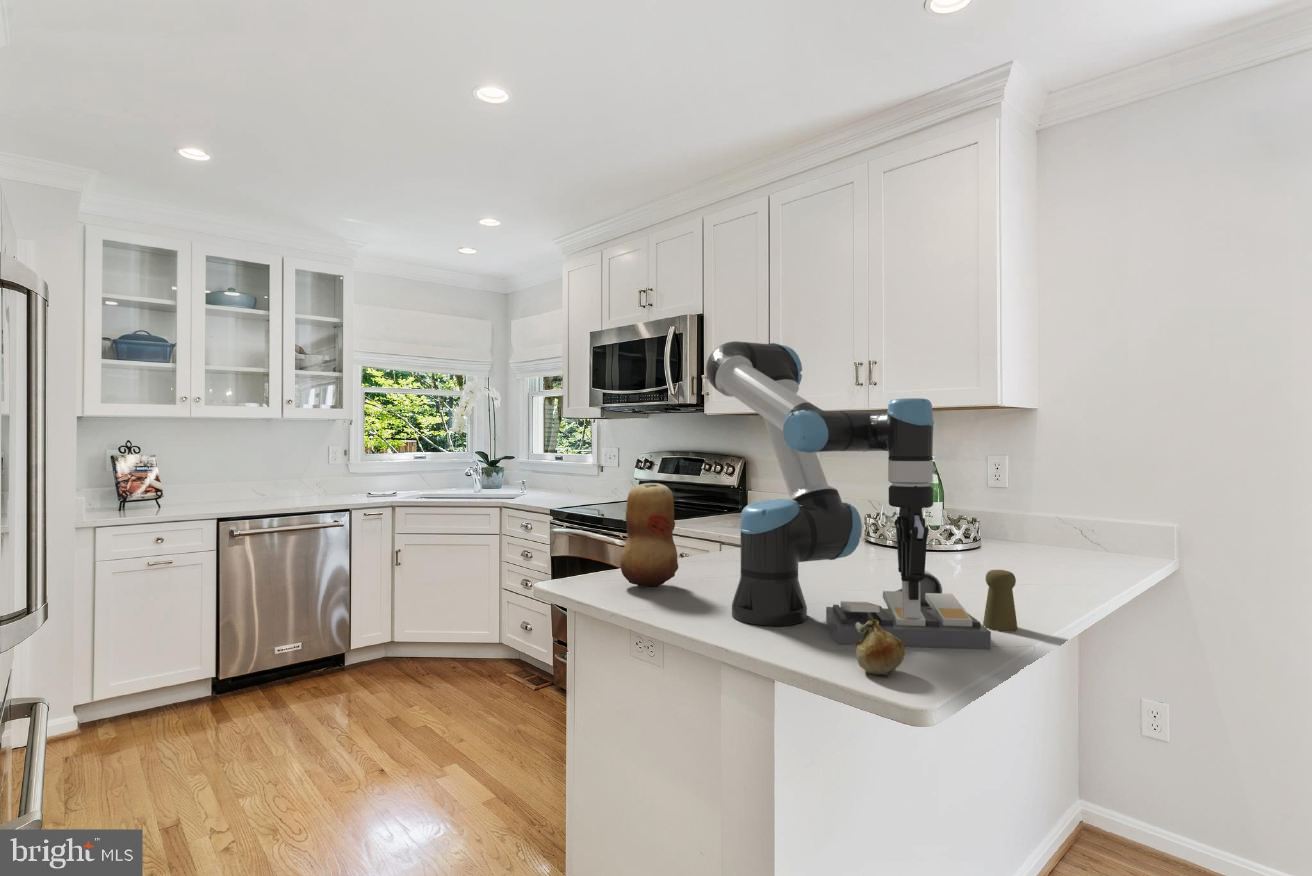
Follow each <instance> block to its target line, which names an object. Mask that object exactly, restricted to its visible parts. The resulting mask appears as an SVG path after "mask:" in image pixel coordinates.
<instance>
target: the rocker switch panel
mask: <svg viewBox="0 0 1312 876" xmlns="http://www.w3.org/2000/svg"><path fill="white" fill-rule="evenodd" d="M920 608H921V613H922V614H923V616H924V618H925V619H926V623H925V626H906V625H896V623H895V621H894V619H893V617H892V615H891V613H890V611H889V609H888V608H883V607H882V606H881V605H879V610H880V612H851V611H848V610H846V609H843V608H841V606H840V605H839V604H832V606H826V609H825V613H826V614H825V622H826V625H827V626H828V628H829V630H830V631H831V633H833V634H832V636H833V635H834V636H833V637H835V638H834V639H835V641H836V643H837V644H838V645H853V644H856V645H855V646H857V642H858V640H861V638H863V637H864V634H861V633H859V632H858V631H857V628H856V626H855V625H856V623H857V622H859V623H860V624H862V625H865V624H866V623H867V622H868V621H869V620H870V621H872V620H873V619H875V620H877V621H879V626H880V627H881V628H882V629H883V630H884V631H887V632H889V633H891V634H892V635H893V636H895V637H897V638H899V640H900V641H902V643H903V645H904V647H919V648H920V647H921V648H945V649H946V648H949V649H950V648H951V649H952V648H953V649H978V650H979V649H982V650H983V649H984V650H985V649H986V650H991V649H992V648H991V646H992V645H991V641H992V639H991V638H992V637H991V633H992V632H991V630H990V629H987V628H985V627H984V626H983V624H981V621H979V620H977V619H976V618H975V617H974V616H972V615H971V614H969V613H968V615H969V616H970V617H971V619H972V620H973V623H972V626H943V625H942V624H941V622H940V621H939V619H938V618H937V616H936V615H935V613H934V612H933V610H932V609H925V608H924V607H920Z"/></svg>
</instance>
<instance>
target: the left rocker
mask: <svg viewBox="0 0 1312 876" xmlns="http://www.w3.org/2000/svg"><path fill="white" fill-rule="evenodd" d="M839 603H840V607H841V608H843V609H846V610H848V611H851V612H880V610H879V606H880V605H879V604H875V603H871V602H868V601H846V600H845V601H844V600H843V601H840V602H839Z"/></svg>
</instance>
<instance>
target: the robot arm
mask: <svg viewBox="0 0 1312 876" xmlns="http://www.w3.org/2000/svg"><path fill="white" fill-rule="evenodd" d="M705 371H706V372H705V373H706V377H707V379H708V382H709V383H710V384H711V386H712V387H713V388H714V389H715V390H717V391H718V392H719V393H720V394H722V395H723V396H725V397H734V398H735V399H736V400H738V401H739V402H741V403H742V404H744V405H745V406H747V407H748V408H750V410H753V411H754V413H756V414H758V415H759V416H761V417H762V418H763V421H764V424H765V427H766V429H767V433H768V436H769V439H770V441H771V445H772V447H773V450H774V453H775V455H776V459H777V462H778V465H779V468H780V471H781V474H782V477H783V480H784V483H785V486H786V489H787V492H788V494H789V498H786V499H785V498H778V499H766V500H760V501H755V502H752V503H749V504H747V505H745V507H743V509H742V511H741V514H740V524H739V531H740V577H739V582H738V584H737V588H736V591H735V592H734V596H733V600H732V602H731V616H732V617H733V618H734V619H735V620H738V621H740V622H743V623H747V624H752V625H757V626H758V625H759V626H768V627H770V626H771V627H774V626H775V627H780V626H781V627H782V626H783V627H784V626H793V625H797V624H801V623H803V622H805V621H807V619H808V607H807V603H806V599H805V597H804V595H803V594H804V593H803V590H802V588H801V587H802V586H801V584H800V582H799V563H806V562H816V561H826V560H827V561H828V560H829V561H834V560H837V559H840V558H846V557H848V556H850V555H852V554H853V553H854V552H855V551H856V549H857V547H859V544H860V541H861V540H860V539H861V538H862V533H863V525H862V523H863V522H862V518H861V515H860V513H859V511H858V509H857V508H856V506H853V505H852V504H851V503H849V502H848V503H847V502H843V501H842V499H841V496H840V494H839V491H838V489H837V488H836V487H833V486H830V485H829V484H828V481H827V479H826V476H825V475H826V474H825V473H824V471H823V467H822V465H821V463H820V459H819V457H818V453H820V452H821V453H823V452H824V453H825V452H888V453H887V454H888V460H887V467H888V468H887V470H888V471H887V476H888V477H887V479H888V480H887V481H888V482H889V483H891V485H889V487H888V504H889V506H890V507H892V508H893V507H894V508H899V513H898V515H897V517H896V519H895V520H894V525H895V531H896V533H895V534H896V548H897V549H896V551H897V564H898V566H897V567H898V568H897V569H898V570H897V571H898V573H900V577H901V589H902V615H903V616H904V617H905V618H921V608H920V581H921V580H924V578H925V571H926V559H927V558H926V557H927V542H928V536H929V531H930V529H929V527H928V526H926V519H925V517H924V515H923V509H924V508H926V509H927V508H932V507H933V505H934V488H933V486H930V484H932V483H933V482H934V480H933V479H934V475H933V472H935V471H936V470H937V467H936V466H935V465H933V464H934V463H933V462H934V461H933V460H934V459H933V458H934V457H933V456H934V455H933V449H934V447H933V446H934V445H933V443H934V442H933V441H934V440H933V439H934V434H933V433H934V425H935V422H934V421H935V420H934V415H933V405H932V402H931V401H930V400H929V399H928V398H922V397H921V398H919V397H918V398H917V397H914V398H913V397H906V398H895V399H894V398H893V399H890V400H889V402H888V404H887V405H888V406H887V410H886V411H835V410H833V411H832V410H831V411H829V410H823V409H822V408H820V407H818V406H817V405H814V404H813V403H812V402H810V401H808V400H806V399H805V398H803V397H802V396H800V395H798V392H799V389H800V388H799V387H800V384H801V381H802V378H803V374H802V373H801V372H803V365H802V361H801V359H800V356H799V354H798V353H797V352H796V351H795V350H794V349H793V348H791V347H790V346H787V345H784V344H779V343H775V342H770V343H761V342H750V341H749V342H748V341H747V342H746V341H737V340H736V341H735V340H734V341H728V342H725V343H723V344H720V345H719V346H718V347H716V348H715V349H714V350H713V351H712V352H711V353H710V355H709V356H708V359H707V361H706V365H705Z"/></svg>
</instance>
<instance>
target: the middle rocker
mask: <svg viewBox="0 0 1312 876" xmlns="http://www.w3.org/2000/svg"><path fill="white" fill-rule="evenodd" d="M882 599H883V601H884V603H885V605H886V607H887V609H889V611H890V613H891V615H892V617H893V619H894V621H895V623H896V625H906V626H925V623H926V619H925V618H924V616H923V614H922V613H921V618H905V617H904V616H903V615H902V592H901V591H897V590H893V591H892V590H883V591H882Z"/></svg>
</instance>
